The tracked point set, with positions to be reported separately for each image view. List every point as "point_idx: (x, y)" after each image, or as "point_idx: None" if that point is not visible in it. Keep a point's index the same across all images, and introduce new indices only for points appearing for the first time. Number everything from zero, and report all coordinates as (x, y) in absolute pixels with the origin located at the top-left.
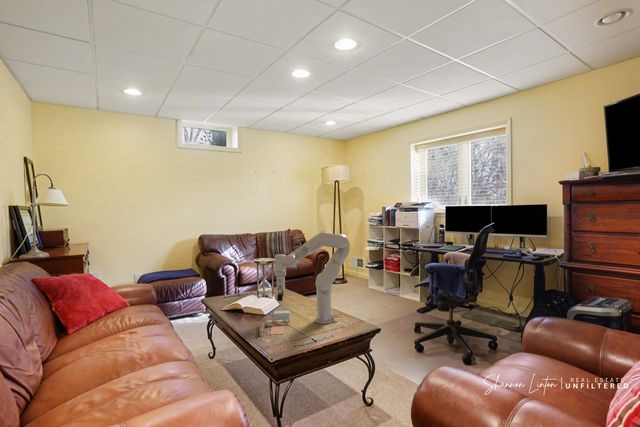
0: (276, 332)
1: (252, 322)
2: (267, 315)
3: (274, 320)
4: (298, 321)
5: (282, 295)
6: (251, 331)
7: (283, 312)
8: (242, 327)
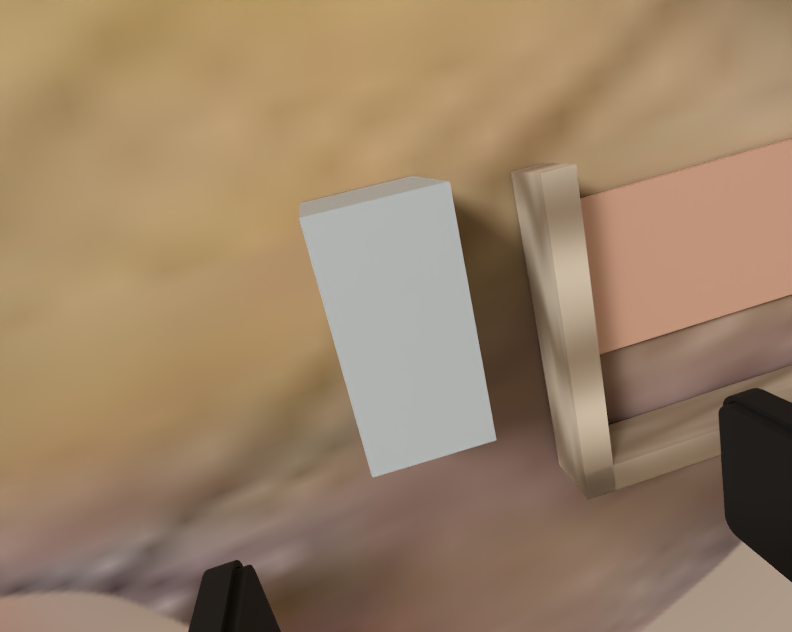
0: (777, 229)
1: (465, 605)
2: (208, 563)
3: (573, 362)
4: (368, 31)
5: (250, 606)
6: (696, 501)
7: (430, 304)
8: (598, 622)
